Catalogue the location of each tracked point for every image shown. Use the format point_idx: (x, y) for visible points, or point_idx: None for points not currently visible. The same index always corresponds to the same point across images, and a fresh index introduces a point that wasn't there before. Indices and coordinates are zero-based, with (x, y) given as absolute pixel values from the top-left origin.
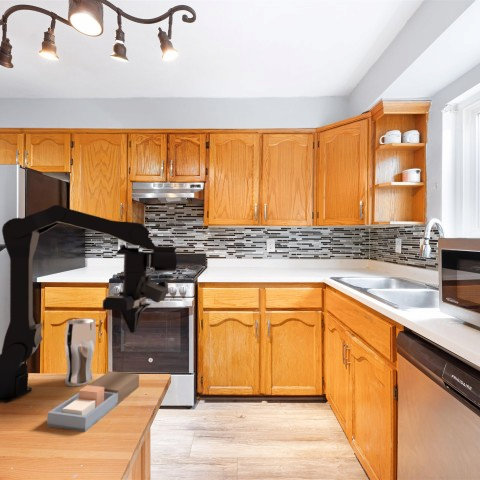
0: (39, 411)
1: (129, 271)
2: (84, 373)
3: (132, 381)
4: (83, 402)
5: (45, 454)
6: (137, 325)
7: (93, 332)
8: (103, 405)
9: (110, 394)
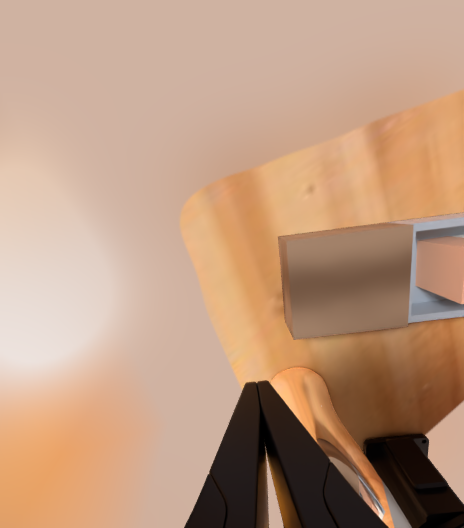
0: (443, 356)
1: None
2: (316, 391)
3: (326, 235)
4: None
5: None
6: (240, 414)
7: None
8: None
9: (413, 241)
